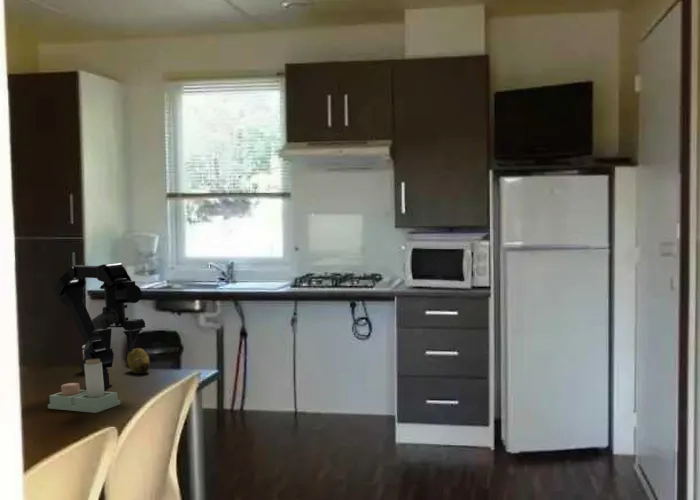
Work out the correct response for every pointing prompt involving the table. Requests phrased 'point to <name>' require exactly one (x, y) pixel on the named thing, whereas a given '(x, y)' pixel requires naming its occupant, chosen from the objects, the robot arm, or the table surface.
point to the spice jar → (94, 378)
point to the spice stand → (81, 400)
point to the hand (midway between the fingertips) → (119, 351)
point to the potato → (138, 361)
